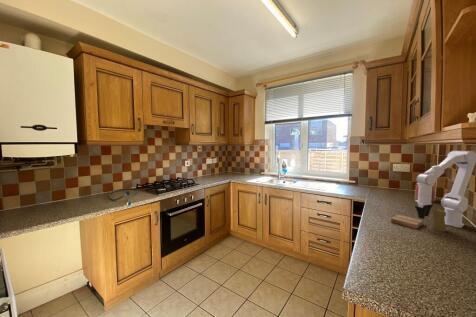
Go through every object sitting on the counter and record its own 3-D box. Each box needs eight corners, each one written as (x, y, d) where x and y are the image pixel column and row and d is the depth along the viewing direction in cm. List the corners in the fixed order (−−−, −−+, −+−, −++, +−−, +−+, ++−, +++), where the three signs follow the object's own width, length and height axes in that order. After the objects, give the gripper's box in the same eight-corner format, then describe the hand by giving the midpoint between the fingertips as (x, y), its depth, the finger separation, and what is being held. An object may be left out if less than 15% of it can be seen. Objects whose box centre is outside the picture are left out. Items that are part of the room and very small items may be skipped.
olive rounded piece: (430, 226, 116) (431, 207, 116) (445, 228, 113) (446, 209, 112) (431, 229, 112) (432, 210, 111) (446, 232, 108) (448, 212, 107)
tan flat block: (398, 218, 129) (398, 214, 129) (422, 224, 119) (423, 220, 119) (390, 222, 122) (391, 218, 122) (416, 229, 112) (416, 224, 112)
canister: (437, 203, 160) (438, 181, 159) (416, 201, 167) (417, 180, 166) (432, 199, 171) (433, 179, 170) (412, 197, 178) (413, 178, 177)
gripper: (419, 191, 124) (418, 212, 124) (411, 194, 115) (410, 217, 116) (435, 193, 118) (434, 216, 119) (428, 197, 110) (426, 221, 111)
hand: (423, 217), depth 117 cm, fingers open, 7 cm apart
